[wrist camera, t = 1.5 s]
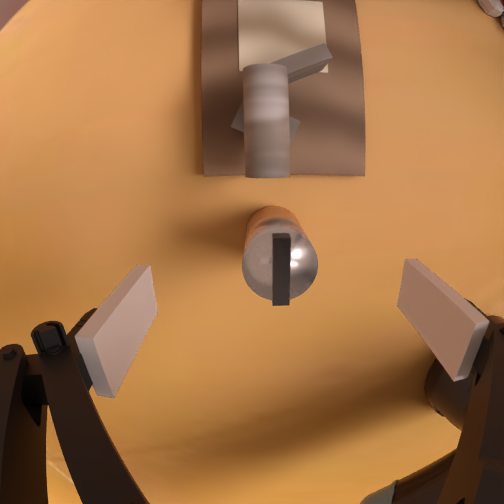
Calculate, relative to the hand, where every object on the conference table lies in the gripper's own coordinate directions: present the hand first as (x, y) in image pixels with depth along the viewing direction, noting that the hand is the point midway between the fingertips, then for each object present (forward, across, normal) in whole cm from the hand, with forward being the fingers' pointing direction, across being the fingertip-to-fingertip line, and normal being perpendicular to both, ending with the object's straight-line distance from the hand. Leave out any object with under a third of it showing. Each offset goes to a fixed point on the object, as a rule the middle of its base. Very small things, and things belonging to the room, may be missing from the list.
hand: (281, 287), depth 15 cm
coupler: (+12, 0, 0) cm, 12 cm away
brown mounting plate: (+12, -1, -16) cm, 20 cm away
